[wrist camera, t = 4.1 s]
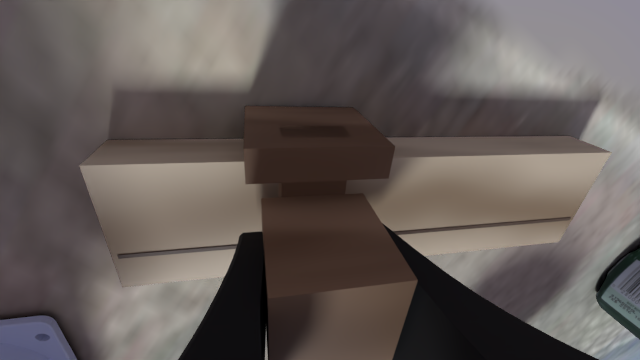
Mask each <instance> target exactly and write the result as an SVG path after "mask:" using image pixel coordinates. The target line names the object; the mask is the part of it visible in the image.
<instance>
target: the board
mask: <svg viewBox="0 0 640 360" xmlns="http://www.w3.org/2000/svg"><path fill="white" fill-rule="evenodd" d="M386 138H387V139H388V140H389V141H390V142H391V143H392V144H393V145H395V151H394V155H393V160H392V165H391V170H390V175H389V179H366V180H347V184H346V191H345V194H357V193H363V194H364V195H365V197H366V199H367V200H368V202H369V203H370V205H371V206H372V208H373V210H374V211H375V213H376V214H377V216H378V218H379V219H380V221H381V222H382V223H383V224H384V225H385V226H387V227H388V228H389V229H390V230H392V231H393V232H394V233H396V234H397V235H398V236H399V237H401V238H402V239H403V240H404V241H405V242H407V243H408V244H409V245H410V246H412V247H413V248H414V249H416V250H417V251H418V252H419V253H421V254H422V255H423V256H429V255H438V254H448V253H458V252H467V251H477V250H487V249H496V248H506V247H515V246H525V245H535V244H544V243H554V242H559V241H560V239H561V237H562V236H563V234H564V232H565V231H566V229H567V227H568V226H569V224H570V222H571V220H572V219H573V217H574V215H575V214H576V212H577V210H578V209H579V207H580V205H581V204H582V202H583V200H584V199H585V197H586V195H587V193H588V192H589V190H590V188H591V187H592V185H593V183H594V182H595V180H596V178H597V177H598V175H599V173H600V172H601V170H602V168H603V167H604V165H605V163H606V161H607V160H608V158H609V156H610V155H611V153H612V152H609V151H607V150H604V149H602V148H599V147H596V146H594V145H591V144H589V143H586V142H584V141H581V140H579V139H576V138H573V137H571V136H497V137H386ZM243 146H244V139H154V140H107V141H105V142H104V143H103V144H102V145H101V146H100V147H99V148H98V149H97V150H96V151H95V152H93V153H92V154H91V155H90V156H89V157H88V158H87V159H86V160H85V161H84V162H83V163H81V164H80V165H79V167H80V170H81V172H82V175H83V178H84V181H85V184H86V186H87V189H88V192H89V195H90V198H91V200H92V203H93V206H94V209H95V212H96V214H97V217H98V220H99V223H100V226H101V228H102V231H103V234H104V237H105V240H106V242H107V245H108V248H109V251H110V254H111V256H112V259H113V262H114V265H115V268H116V270H117V273H118V276H119V279H120V282H121V284H122V287H131V286H140V285H150V284H160V283H169V282H179V281H188V280H198V279H208V278H217V277H225V275H226V273H227V271H228V268H229V266H230V264H231V261H232V259H233V256H234V253H235V250H236V247H237V244H238V240H239V236H240V235H241V234H242V233H246V232H260V231H262V212H261V198H278V192H279V183H268V184H245V167H244V150H243Z"/></svg>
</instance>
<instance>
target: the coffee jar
mask: <svg viewBox="0 0 640 360" xmlns="http://www.w3.org/2000/svg"><path fill="white" fill-rule="evenodd" d="M596 299H597V302H598V304H599V305H600V307H601V308H602V309H603V310H605V311H606V312H607V313H608V314H609V315H611V316H612V317H613V318H614V319H615V320H617V321H618V322H619V323H620V324H621V325H623V326H624V327H625V328H626V329H628V330H629V331H630V332H631V333H633V334H634V335H635V336H636V337H637V338H639V339H640V248H639V249H637V250H636V251H634V252H630V253H629V254H627V255H626V256H624V257H623V258H622V259H621V260H620V261H619V262H618V263H617V264H616V265H615V266H614V267H613V268H612V269H611V270H610V271H609V272H608V274H607V277H606V279H605V281H604V283H603V284H602V286H601V288H600V290H599V291H598V293H597V294H596Z"/></svg>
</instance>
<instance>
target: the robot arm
mask: <svg viewBox="0 0 640 360" xmlns="http://www.w3.org/2000/svg"><path fill="white" fill-rule="evenodd" d="M382 224H383V223H382ZM383 226H384V227H385V229H386V230H387V232H388V233H389V235H390V237H391V238H392V240H393V241H394V243H395V245H396V246H397V248H398V249H399V251H400V253H401V254H402V256H403V257H404V259H405V260H406V262H407V264H408V265H409V267H410V268H411V270H412V272H413V273H414V275H415V276H416V278H417V280H418V281H417V285H416V288H415V291H414V294H413V297H412V300H411V303H410V306H409V309H408V312H407V316H406V319H405V322H404V325H403V328H402V331H401V334H400V337H399V340H398V343H397V346H396V350H395V353H394V356H393V359H392V360H599V359H596V358H594V357H592V356H590V355H588V354H586V353H584V352H581V351H579V350H577V349H575V348H573V347H571V346H569V345H567V344H565V343H563V342H561V341H559V340H557V339H555V338H553V337H551V336H549V335H547V334H546V333H544V332H542V331H540V330H538V329H536V328H534V327H532V326H531V325H529V324H527V323H525V322H523V321H521V320H520V319H518V318H516V317H514V316H513V315H511V314H509V313H507V312H506V311H504V310H502V309H501V308H499V307H497V306H496V305H494V304H492V303H491V302H489V301H488V300H486V299H484V298H483V297H481V296H479V295H478V294H476V293H475V292H473V291H472V290H470V289H469V288H467V287H466V286H464V285H463V284H462V283H460V282H459V281H457V280H456V279H454V278H453V277H451V276H450V275H449V274H447V273H446V272H444V271H443V270H442V269H440V268H439V267H438V266H436V265H435V264H434V263H432V262H431V261H430V260H428V259H427V258H426V257H424V256H423V255H422V254H421V253H419V252H418V251H417V250H416V249H414V248H413V247H412V246H410V245H409V244H408V243H407V242H405V241H404V240H403V239H402V238H401V237H399V236H398V235H397V234H396V233H394V232H393V231H392V230H390V229H389V228H388V227H387V226H385V225H384V224H383ZM265 336H266V304H265V267H264V245H263V233H262V231H260V232H246V233H242V234H241V235H240V236H239V240H238V244H237V247H236V250H235V253H234V256H233V259H232V261H231V264H230V266H229V268H228V271H227V273H226V275H225V277H224V279H223V282H222V284H221V286H220V288H219V290H218V292H217V294H216V296H215V298H214V300H213V302H212V303H211V305H210V307H209V309H208V311H207V313H206V315H205V316H204V318H203V320H202V322H201V324H200V325H199V327H198V329H197V330H196V332H195V334H194V335H193V337H192V339H191V340H190V342H189V343H188V345H187V347H186V348H185V350H184V351H183V353H182V355H181V356H180V358H179V359H178V360H265ZM0 360H77V358H76V356H75V355H74V353H73V351H72V349H71V347H70V346H69V344H68V342H67V340H66V338H65V337H64V335H63V333H62V331H61V329H60V328H59V326H58V324H57V322H56V321H55V320H54V319H53V318H52V317H49V316H45V315H39V316H31V317H22V318H13V319H5V320H0Z"/></svg>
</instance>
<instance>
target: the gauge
mask: <svg viewBox="0 0 640 360" xmlns="http://www.w3.org/2000/svg"><path fill="white" fill-rule="evenodd" d="M243 150H244V167H245V184H268V183H279V192H278V198H261V212H262V233H263V245H264V267H265V304H266V331H267V348H268V360H392V359H393V356H394V353H395V350H396V346H397V343H398V340H399V337H400V334H401V331H402V328H403V325H404V322H405V319H406V316H407V312H408V309H409V306H410V303H411V300H412V297H413V294H414V291H415V288H416V285H417V281H418V280H417V278H416V276H415V275H414V273H413V272H412V270H411V268H410V267H409V265H408V264H407V262H406V260H405V259H404V257H403V256H402V254H401V253H400V251H399V249H398V248H397V246H396V245H395V243H394V241H393V240H392V238H391V237H390V235H389V233H388V232H387V230H386V229H385V227H384V226H383V224H382V222H381V221H380V219H379V218H378V216H377V214H376V213H375V211H374V210H373V208H372V206H371V205H370V203H369V202H368V200H367V199H366V197H365V195H364V194H363V193H357V194H345V191H346V184H347V180H366V179H389V175H390V170H391V165H392V160H393V155H394V151H395V145H393V144H392V143H391V142H390V141H389V140H388V139H387V138H386V137H385V136H384V135H383V134H381V133H380V132H379V131H378V130H377V129H376V128H375V127H374V126H373V125H372V124H371V123H370V122H368V121H367V120H366V119H365V118H364V117H363V116H362V115H361V114H360V113H359V112H358V111H356V110H355V109H354V108H352V107H281V106H245V118H244V146H243Z"/></svg>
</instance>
